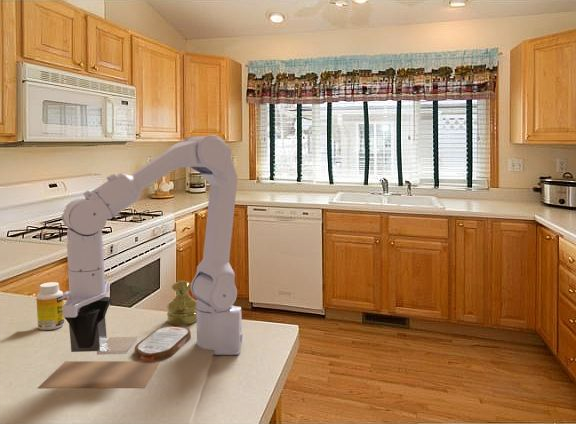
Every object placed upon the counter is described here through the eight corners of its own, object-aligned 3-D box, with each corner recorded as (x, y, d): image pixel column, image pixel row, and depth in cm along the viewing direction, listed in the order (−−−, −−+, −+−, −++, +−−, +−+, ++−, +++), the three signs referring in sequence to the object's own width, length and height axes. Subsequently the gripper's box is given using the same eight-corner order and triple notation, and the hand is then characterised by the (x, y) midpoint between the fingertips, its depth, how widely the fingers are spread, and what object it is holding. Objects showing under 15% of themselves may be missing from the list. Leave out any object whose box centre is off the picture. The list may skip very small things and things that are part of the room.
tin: (125, 364, 88) (166, 371, 87) (126, 348, 88) (166, 355, 86) (162, 334, 103) (197, 340, 101) (162, 321, 102) (197, 326, 101)
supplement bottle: (61, 330, 105) (58, 287, 104) (34, 331, 104) (32, 288, 103) (67, 321, 111) (65, 280, 109) (42, 323, 109) (39, 281, 108)
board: (160, 367, 87) (160, 361, 87) (145, 394, 77) (144, 387, 77) (65, 367, 87) (65, 361, 86) (37, 394, 77) (37, 388, 77)
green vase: (200, 324, 110) (199, 283, 108) (168, 327, 107) (167, 286, 106) (195, 314, 116) (195, 276, 115) (165, 317, 114) (164, 278, 113)
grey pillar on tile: (137, 339, 84) (135, 313, 84) (126, 353, 78) (124, 325, 78) (82, 341, 84) (80, 315, 83) (67, 355, 78) (65, 327, 77)
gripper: (81, 258, 86) (84, 327, 88) (41, 279, 72) (46, 360, 74) (118, 258, 87) (121, 327, 88) (86, 279, 72) (90, 360, 74)
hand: (89, 342), depth 81 cm, fingers closed on grey pillar on tile, 3 cm apart
